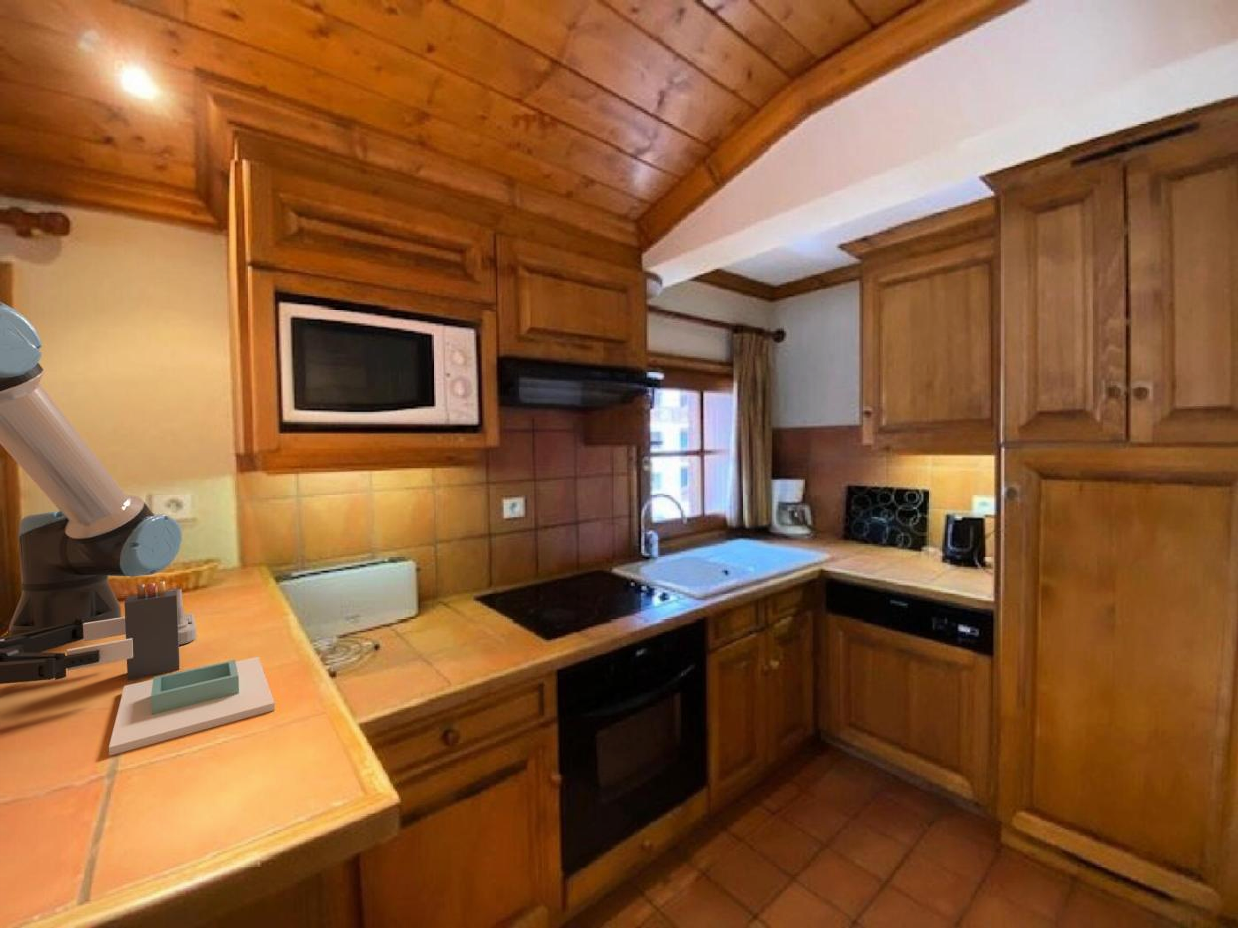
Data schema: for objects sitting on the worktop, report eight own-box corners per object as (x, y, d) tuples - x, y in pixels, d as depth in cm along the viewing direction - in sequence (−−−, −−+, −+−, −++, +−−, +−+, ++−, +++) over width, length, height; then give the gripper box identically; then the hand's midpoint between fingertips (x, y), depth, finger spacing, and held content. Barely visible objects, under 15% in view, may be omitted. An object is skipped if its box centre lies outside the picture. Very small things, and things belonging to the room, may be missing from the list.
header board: (124, 692, 75) (123, 668, 75) (258, 662, 86) (258, 641, 85) (109, 755, 60) (107, 725, 60) (274, 710, 70) (273, 684, 70)
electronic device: (191, 576, 105) (195, 589, 94) (193, 624, 106) (197, 643, 94) (155, 581, 102) (155, 595, 91) (158, 631, 102) (158, 651, 91)
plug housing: (129, 671, 82) (126, 584, 82) (179, 661, 86) (176, 577, 86) (127, 680, 79) (123, 589, 79) (179, 669, 83) (176, 582, 83)
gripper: (-51, 669, 77) (143, 635, 91) (-132, 744, 58) (129, 687, 71) (-54, 619, 77) (141, 593, 90) (-137, 678, 58) (127, 633, 71)
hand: (136, 634), depth 81 cm, fingers open, 13 cm apart
